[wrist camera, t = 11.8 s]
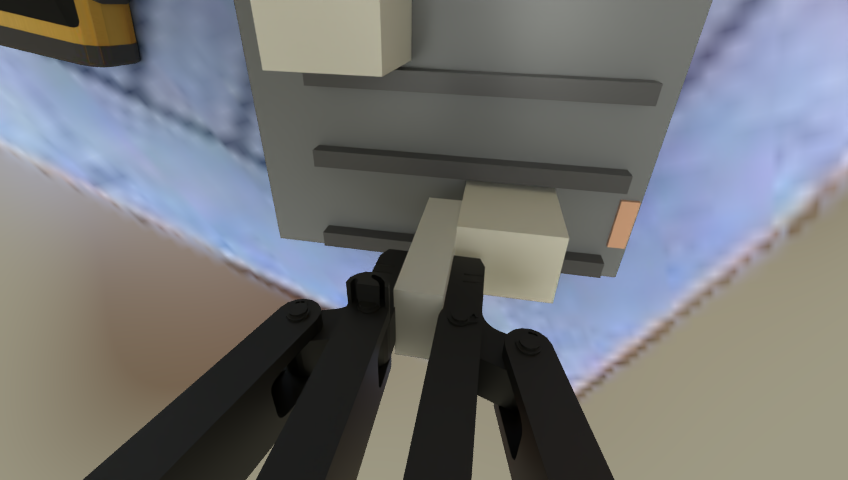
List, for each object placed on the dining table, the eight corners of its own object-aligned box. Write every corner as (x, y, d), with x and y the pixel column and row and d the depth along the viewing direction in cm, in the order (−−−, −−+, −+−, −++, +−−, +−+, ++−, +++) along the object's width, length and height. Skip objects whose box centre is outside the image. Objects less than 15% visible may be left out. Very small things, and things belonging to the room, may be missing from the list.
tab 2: (466, 180, 18) (456, 226, 14) (554, 188, 17) (569, 238, 14) (461, 235, 20) (451, 290, 16) (542, 244, 19) (552, 303, 15)
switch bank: (192, -397, 12) (117, -496, 10) (844, -480, 10) (956, -639, 7) (296, 221, 23) (273, 245, 21) (606, 255, 21) (619, 286, 19)
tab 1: (309, -31, 15) (241, -45, 11) (411, -29, 14) (378, -43, 10) (318, 55, 16) (262, 70, 12) (411, 60, 16) (382, 76, 12)
